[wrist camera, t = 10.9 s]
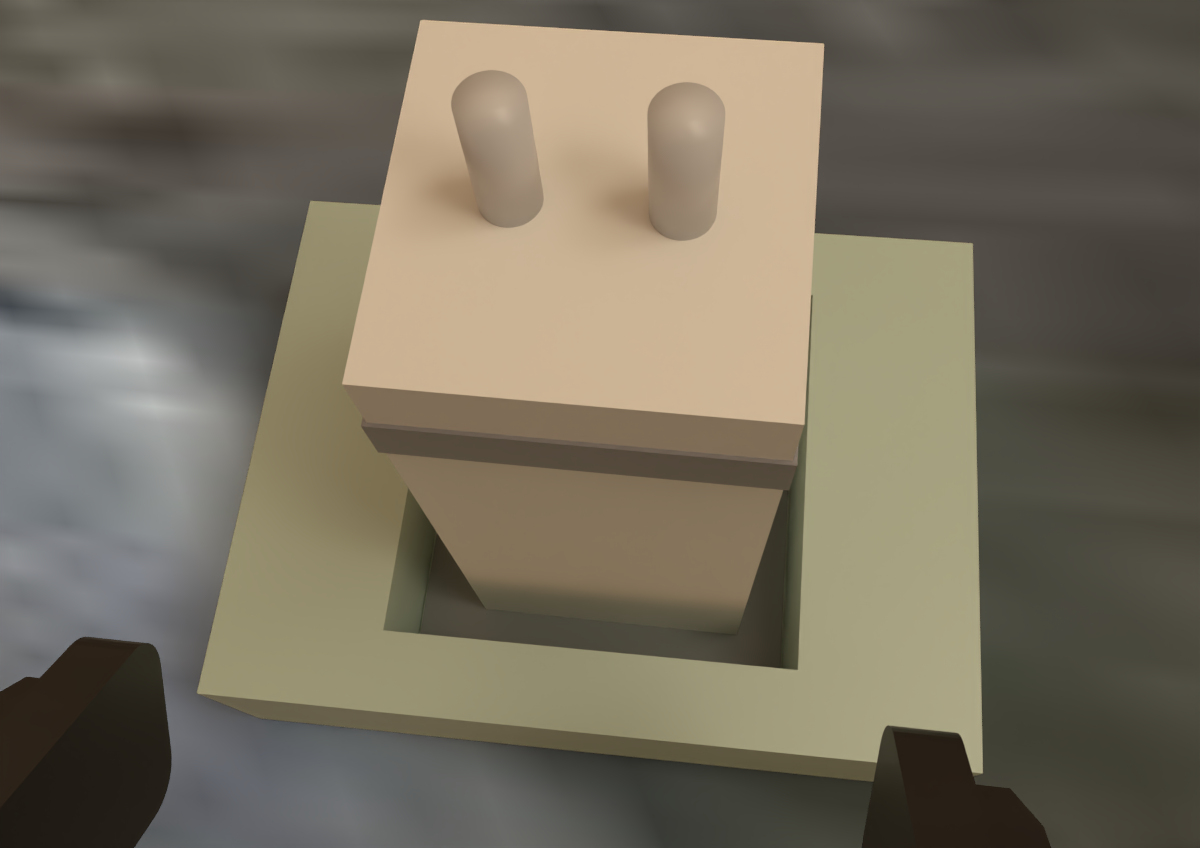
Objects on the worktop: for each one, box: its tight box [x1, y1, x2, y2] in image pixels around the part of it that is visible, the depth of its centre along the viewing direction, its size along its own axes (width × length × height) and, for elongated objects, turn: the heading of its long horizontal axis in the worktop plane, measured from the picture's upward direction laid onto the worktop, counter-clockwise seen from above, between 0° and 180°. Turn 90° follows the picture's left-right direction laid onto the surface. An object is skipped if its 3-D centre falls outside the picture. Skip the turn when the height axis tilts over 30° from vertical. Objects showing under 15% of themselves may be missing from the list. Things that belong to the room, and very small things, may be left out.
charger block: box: [342, 20, 824, 635], centre depth 16 cm, size 5×5×12 cm
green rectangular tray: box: [197, 201, 983, 782], centre depth 20 cm, size 12×9×3 cm
